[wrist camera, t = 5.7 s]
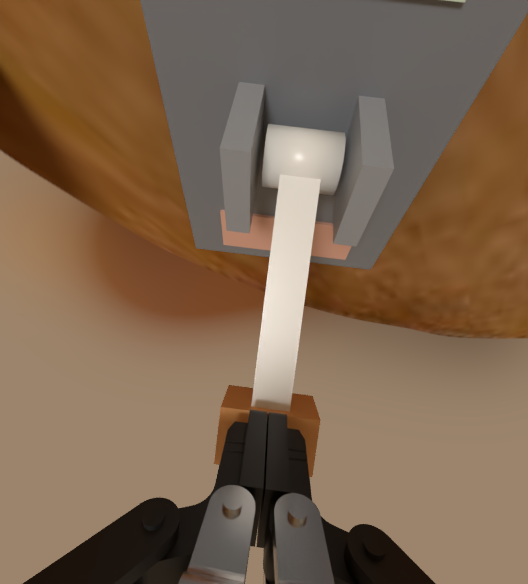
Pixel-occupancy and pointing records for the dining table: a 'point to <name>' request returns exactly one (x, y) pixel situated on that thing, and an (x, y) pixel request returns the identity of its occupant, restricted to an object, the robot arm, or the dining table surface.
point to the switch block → (318, 105)
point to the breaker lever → (287, 278)
